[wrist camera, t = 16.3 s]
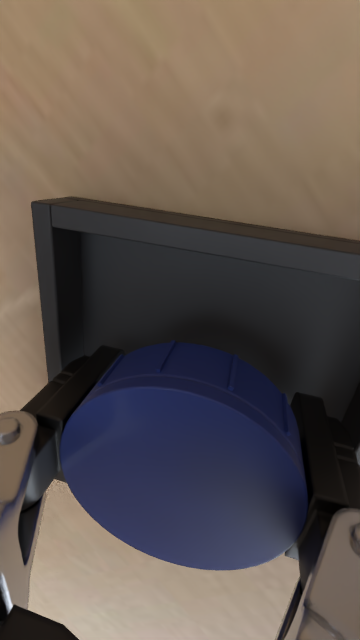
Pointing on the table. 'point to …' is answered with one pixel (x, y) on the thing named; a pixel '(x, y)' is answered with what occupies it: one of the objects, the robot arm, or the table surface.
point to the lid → (189, 458)
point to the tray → (202, 294)
